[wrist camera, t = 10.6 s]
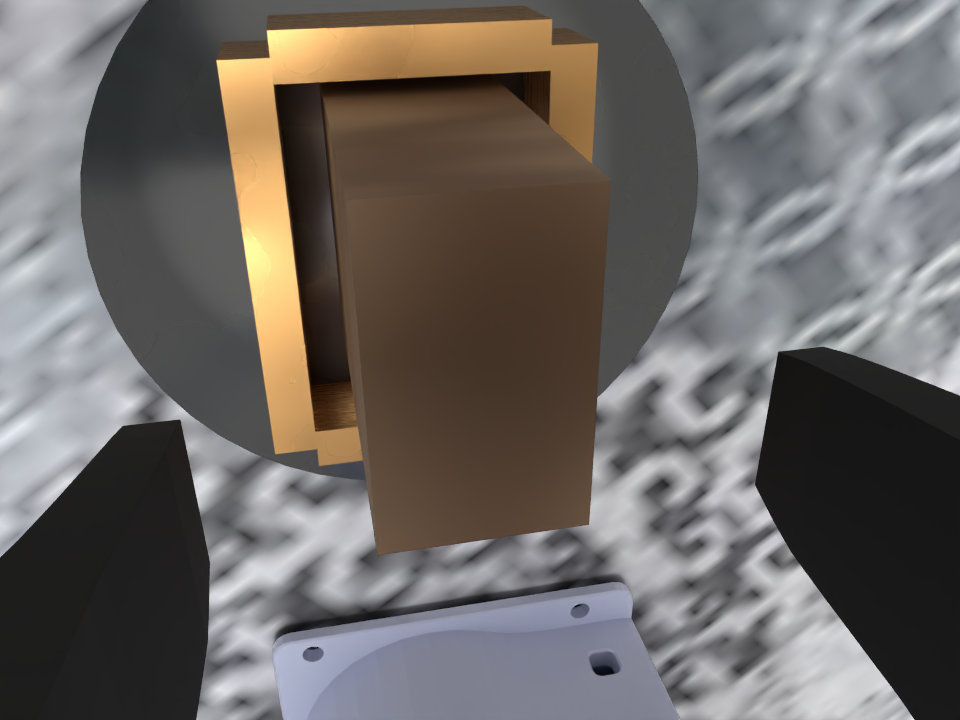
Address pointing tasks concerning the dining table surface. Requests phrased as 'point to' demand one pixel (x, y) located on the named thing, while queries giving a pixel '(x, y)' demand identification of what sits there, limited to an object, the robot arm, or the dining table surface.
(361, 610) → the dining table surface
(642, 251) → the rosette plate
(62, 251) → the dining table surface
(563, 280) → the brown rectangular block
